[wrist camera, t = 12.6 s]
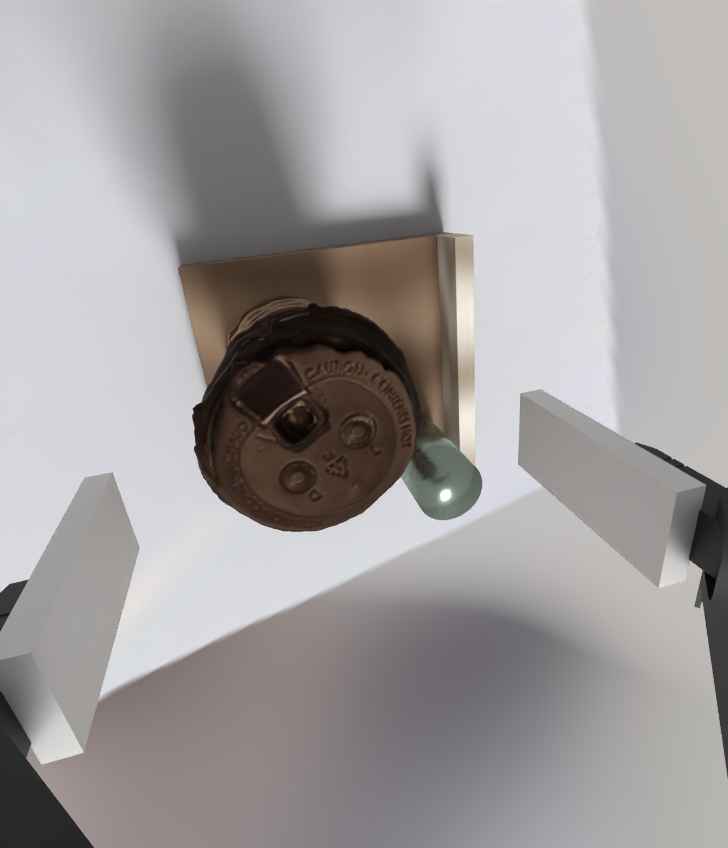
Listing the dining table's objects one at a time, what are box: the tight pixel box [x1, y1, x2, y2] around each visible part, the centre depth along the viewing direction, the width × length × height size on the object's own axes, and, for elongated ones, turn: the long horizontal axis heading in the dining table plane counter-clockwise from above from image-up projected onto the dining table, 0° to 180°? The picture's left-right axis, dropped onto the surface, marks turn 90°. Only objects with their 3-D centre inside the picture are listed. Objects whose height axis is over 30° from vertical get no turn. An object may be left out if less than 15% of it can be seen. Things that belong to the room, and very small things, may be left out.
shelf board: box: [178, 232, 475, 466], centre depth 29 cm, size 14×15×4 cm
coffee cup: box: [192, 296, 421, 532], centre depth 22 cm, size 9×8×13 cm
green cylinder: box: [401, 413, 482, 520], centre depth 29 cm, size 4×4×7 cm
